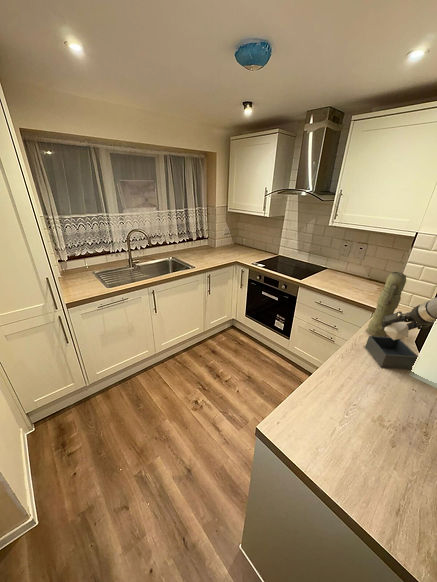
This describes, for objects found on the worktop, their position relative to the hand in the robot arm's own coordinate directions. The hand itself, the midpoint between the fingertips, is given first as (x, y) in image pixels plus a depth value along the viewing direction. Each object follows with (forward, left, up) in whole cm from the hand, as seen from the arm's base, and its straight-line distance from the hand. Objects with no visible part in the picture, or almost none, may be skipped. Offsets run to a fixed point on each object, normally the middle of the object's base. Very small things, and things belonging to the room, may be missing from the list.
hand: (394, 325), depth 106 cm
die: (+1, +3, -4) cm, 5 cm away
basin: (-1, +3, -16) cm, 16 cm away
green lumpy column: (-6, -17, -16) cm, 25 cm away
